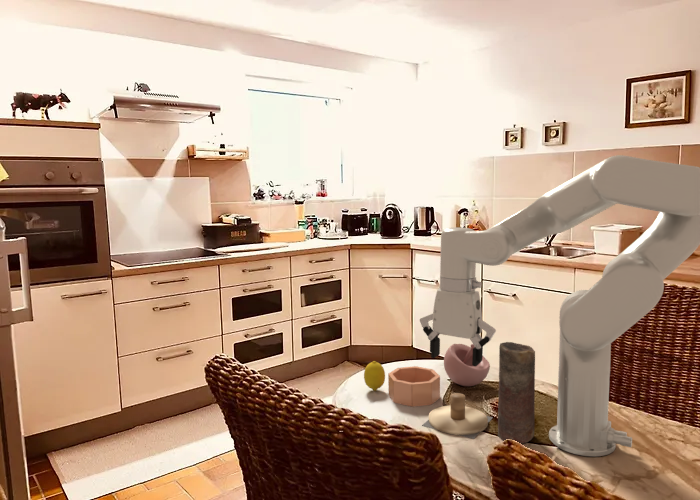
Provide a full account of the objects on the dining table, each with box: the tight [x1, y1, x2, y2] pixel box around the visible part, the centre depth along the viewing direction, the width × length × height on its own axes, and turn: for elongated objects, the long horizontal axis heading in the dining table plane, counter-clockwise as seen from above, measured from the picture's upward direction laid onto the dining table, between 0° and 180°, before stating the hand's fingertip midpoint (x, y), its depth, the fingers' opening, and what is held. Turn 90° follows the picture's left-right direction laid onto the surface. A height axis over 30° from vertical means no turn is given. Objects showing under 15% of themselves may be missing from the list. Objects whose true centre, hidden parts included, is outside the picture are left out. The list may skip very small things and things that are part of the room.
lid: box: [428, 392, 489, 436], centre depth 119 cm, size 13×13×6 cm
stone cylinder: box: [497, 341, 536, 444], centre depth 111 cm, size 8×7×20 cm
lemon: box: [363, 360, 386, 392], centre depth 139 cm, size 6×6×8 cm
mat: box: [421, 415, 494, 440], centre depth 119 cm, size 12×12×1 cm
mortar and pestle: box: [443, 343, 491, 387], centre depth 142 cm, size 12×12×11 cm
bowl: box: [387, 365, 441, 408], centre depth 134 cm, size 12×12×6 cm
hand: (455, 360), depth 118 cm, fingers open, 9 cm apart
